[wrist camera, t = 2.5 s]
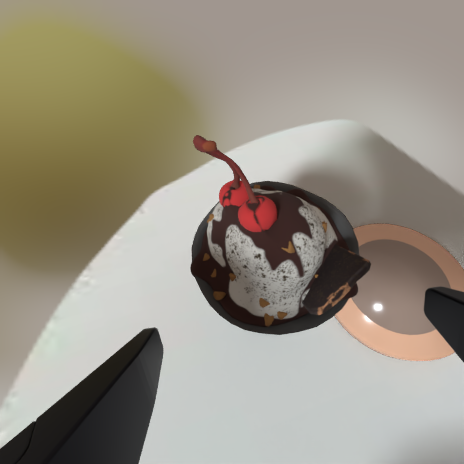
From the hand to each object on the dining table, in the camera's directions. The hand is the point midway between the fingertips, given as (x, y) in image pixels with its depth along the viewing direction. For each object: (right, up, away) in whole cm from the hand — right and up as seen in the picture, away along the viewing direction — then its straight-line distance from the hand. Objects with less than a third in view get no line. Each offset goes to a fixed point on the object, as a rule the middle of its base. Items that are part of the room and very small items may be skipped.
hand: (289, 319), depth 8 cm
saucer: (+10, -1, +10) cm, 14 cm away
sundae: (+1, -2, +11) cm, 11 cm away
